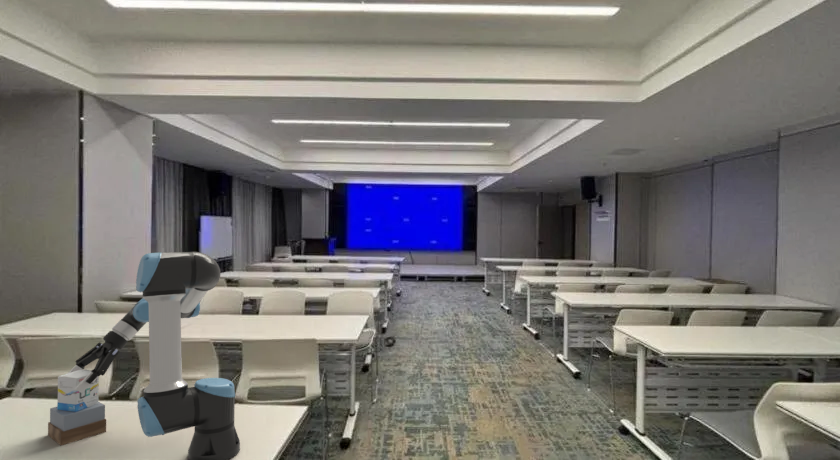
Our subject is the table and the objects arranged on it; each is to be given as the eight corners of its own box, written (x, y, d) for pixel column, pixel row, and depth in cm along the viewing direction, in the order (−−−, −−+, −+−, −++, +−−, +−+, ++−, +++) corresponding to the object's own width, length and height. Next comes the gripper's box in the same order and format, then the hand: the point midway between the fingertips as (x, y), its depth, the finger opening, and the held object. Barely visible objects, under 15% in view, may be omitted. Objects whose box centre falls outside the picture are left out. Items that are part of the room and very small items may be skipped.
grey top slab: (104, 419, 159) (104, 404, 159) (63, 431, 149) (63, 416, 149) (90, 411, 166) (90, 397, 166) (50, 422, 156) (50, 408, 156)
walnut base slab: (106, 433, 159) (106, 419, 159) (60, 447, 149) (60, 432, 149) (92, 424, 167) (92, 410, 167) (47, 436, 156) (48, 422, 156)
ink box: (75, 412, 153) (76, 378, 153) (56, 409, 155) (56, 375, 155) (99, 403, 161) (99, 370, 161) (80, 400, 163) (81, 368, 163)
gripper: (142, 346, 163) (94, 400, 151) (113, 336, 178) (66, 385, 165) (126, 334, 159) (75, 388, 147) (98, 325, 174) (49, 374, 161)
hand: (70, 387), depth 156 cm, fingers open, 13 cm apart
